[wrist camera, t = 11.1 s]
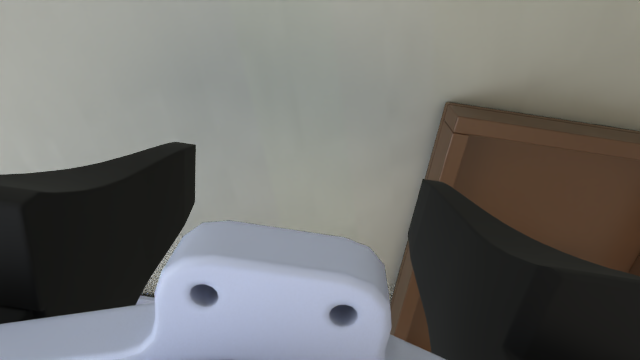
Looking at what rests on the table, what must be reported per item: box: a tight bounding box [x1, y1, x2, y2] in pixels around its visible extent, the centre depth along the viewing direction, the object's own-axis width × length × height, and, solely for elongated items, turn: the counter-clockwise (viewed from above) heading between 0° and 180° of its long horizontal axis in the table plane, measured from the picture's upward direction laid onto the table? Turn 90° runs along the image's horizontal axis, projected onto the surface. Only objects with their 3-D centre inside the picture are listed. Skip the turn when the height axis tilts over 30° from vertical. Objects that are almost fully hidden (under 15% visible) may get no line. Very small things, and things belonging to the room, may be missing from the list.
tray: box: [390, 102, 640, 352], centre depth 25 cm, size 19×14×2 cm
